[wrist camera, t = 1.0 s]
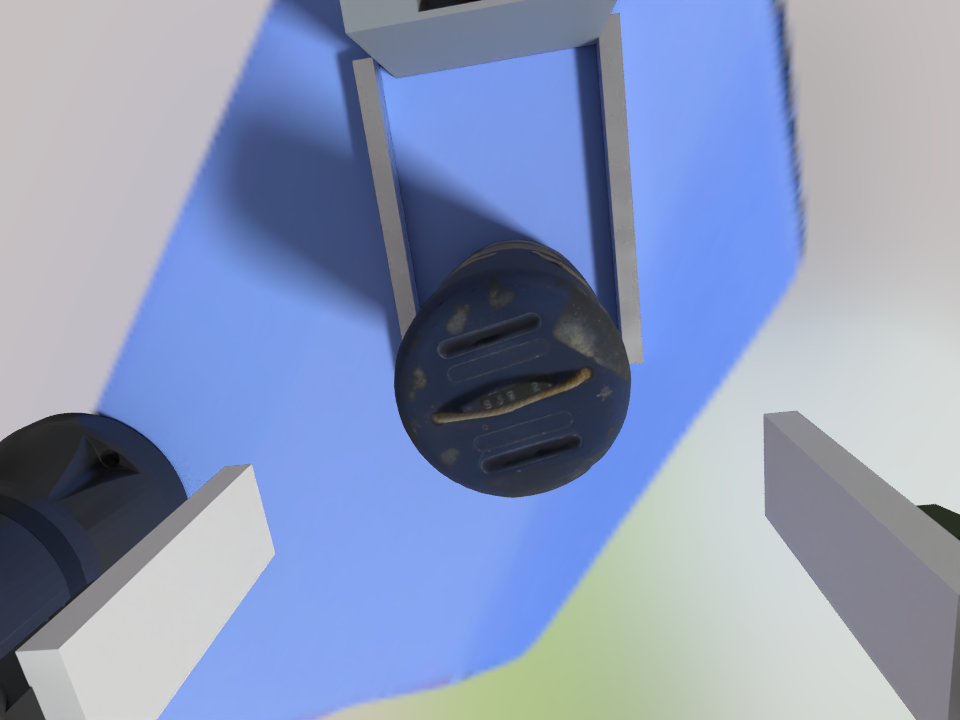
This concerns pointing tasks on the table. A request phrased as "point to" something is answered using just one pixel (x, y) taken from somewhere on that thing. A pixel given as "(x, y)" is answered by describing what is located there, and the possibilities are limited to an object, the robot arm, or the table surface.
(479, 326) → the canister
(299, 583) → the table surface
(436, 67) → the end cabinet
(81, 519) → the robot arm
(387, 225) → the rail track
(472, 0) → the button
